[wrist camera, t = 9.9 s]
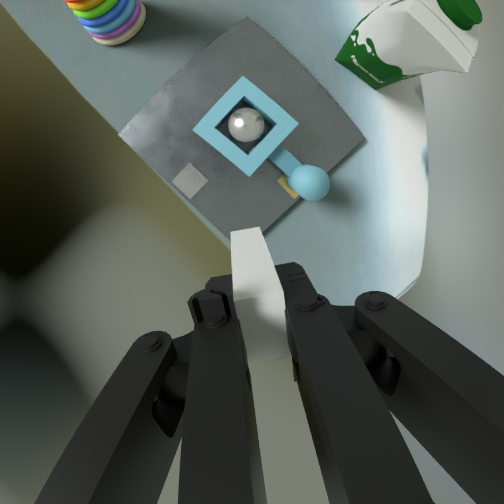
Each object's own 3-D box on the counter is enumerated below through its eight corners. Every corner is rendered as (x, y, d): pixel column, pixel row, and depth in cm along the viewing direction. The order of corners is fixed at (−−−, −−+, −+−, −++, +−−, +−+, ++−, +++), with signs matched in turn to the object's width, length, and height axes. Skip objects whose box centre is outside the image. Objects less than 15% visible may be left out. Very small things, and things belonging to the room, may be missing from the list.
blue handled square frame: (288, 209, 35) (300, 222, 29) (196, 131, 30) (189, 128, 25) (330, 164, 33) (349, 169, 27) (241, 84, 28) (243, 71, 23)
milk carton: (400, 57, 28) (500, 28, 10) (377, 99, 31) (486, 82, 12) (352, 20, 26) (435, -41, 8) (325, 61, 29) (411, 1, 10)
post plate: (121, 135, 30) (101, 134, 25) (246, 19, 26) (249, -2, 20) (241, 248, 37) (244, 267, 32) (361, 138, 33) (383, 138, 27)
